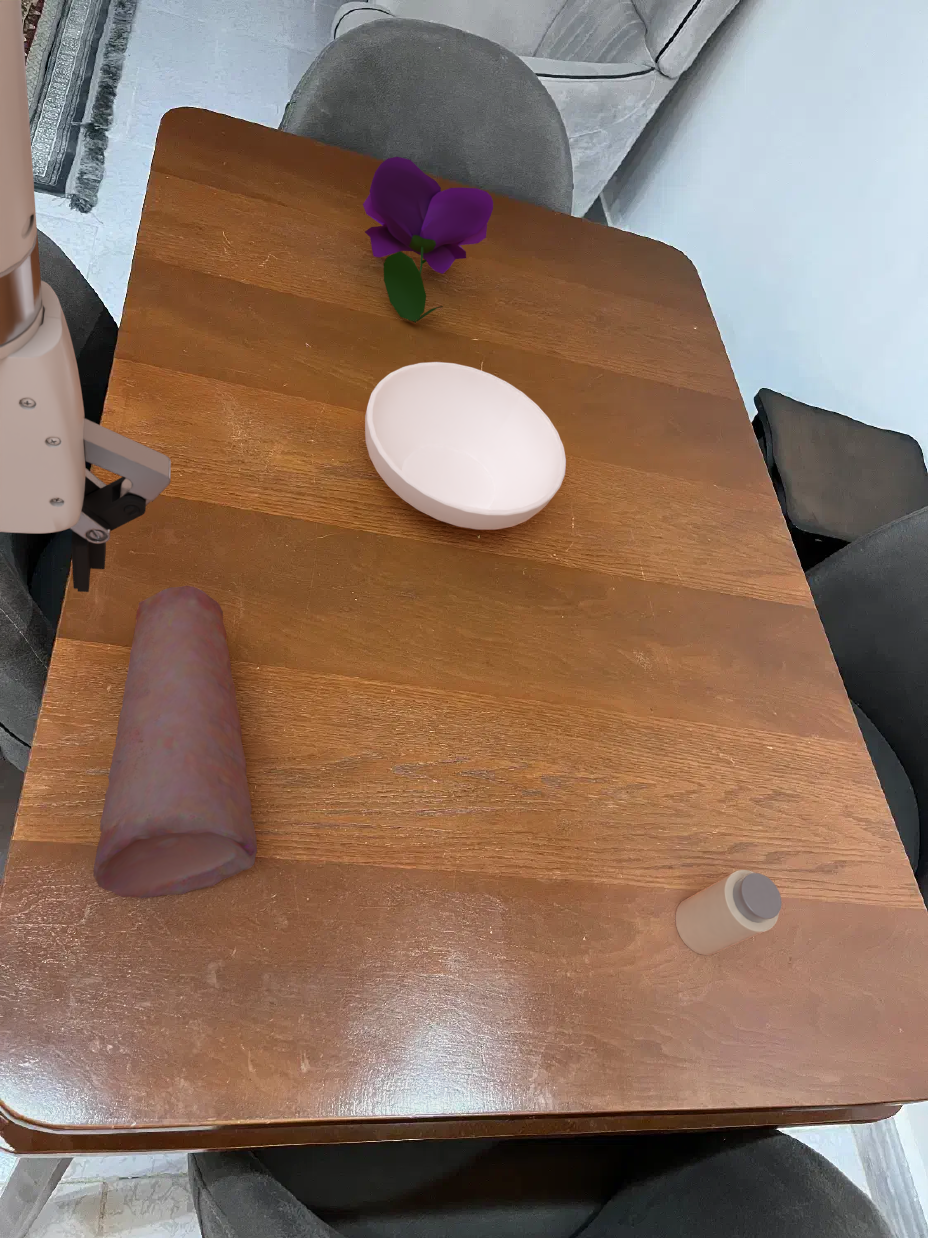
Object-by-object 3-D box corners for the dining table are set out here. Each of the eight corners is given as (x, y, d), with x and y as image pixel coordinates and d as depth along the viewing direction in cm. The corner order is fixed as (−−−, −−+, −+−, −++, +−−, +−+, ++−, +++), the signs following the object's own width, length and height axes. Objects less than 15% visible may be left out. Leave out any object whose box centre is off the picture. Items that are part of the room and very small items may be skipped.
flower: (457, 359, 104) (466, 257, 105) (499, 304, 90) (509, 188, 91) (340, 333, 99) (351, 227, 101) (365, 272, 85) (377, 149, 87)
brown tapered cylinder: (249, 885, 57) (266, 840, 50) (96, 907, 53) (91, 862, 46) (222, 620, 67) (233, 553, 60) (93, 623, 63) (89, 552, 56)
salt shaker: (684, 958, 64) (746, 930, 57) (668, 899, 66) (726, 866, 59) (732, 952, 65) (798, 924, 59) (714, 895, 67) (776, 862, 61)
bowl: (308, 469, 79) (322, 414, 73) (429, 389, 91) (448, 335, 85) (468, 598, 76) (495, 550, 71) (571, 497, 88) (600, 450, 83)
